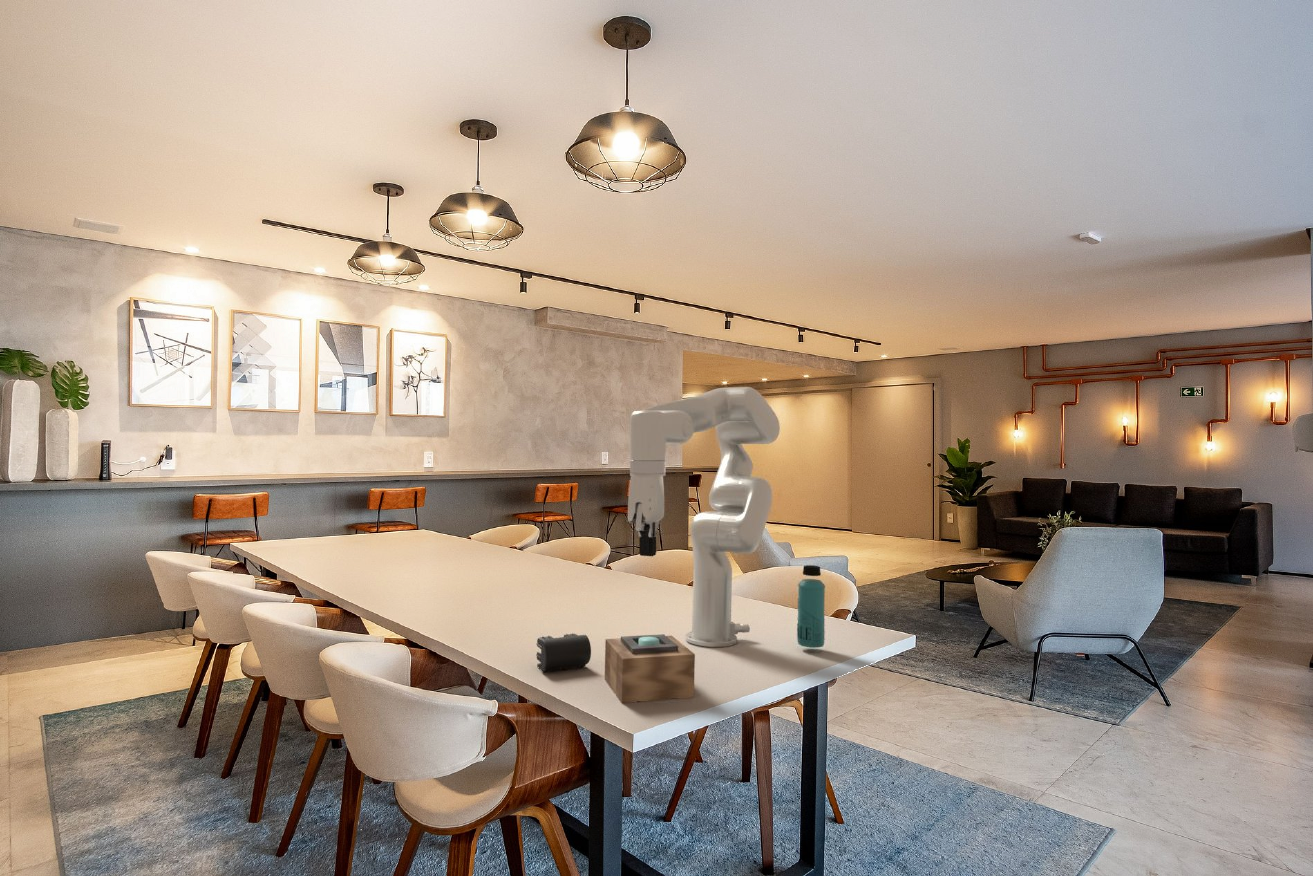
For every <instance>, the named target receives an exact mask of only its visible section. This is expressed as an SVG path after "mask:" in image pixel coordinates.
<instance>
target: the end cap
mask: <svg viewBox="0 0 1313 876" xmlns="http://www.w3.org/2000/svg"><path fill="white" fill-rule="evenodd" d="M536 647H538V648H539V649H540V652H539V651H537V652H536V654H535V655H536V656H535V657H536V659H537V660H538V662H539V663H537V664H536V666H537V668H538V667H539V668H540V669H541V670H542V671H543V673H546V672H547V673H548V672H553V671H561V670H569V669H577V668H584V667H586V665H587V664H589V663H590V661H591V657H592V646H591V642H590V639H589V637H588V636H587V634H581V635H580V634H579V635H578V634H576V633H570V634H568V633H565V634H563V636H561V637H560V636H559V637H552V636H551V635H548V636H539V637H538V638H537V640H536ZM539 668H538V669H539ZM540 669H539V670H540ZM541 670H540V671H541ZM542 671H541V672H542Z"/></svg>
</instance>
